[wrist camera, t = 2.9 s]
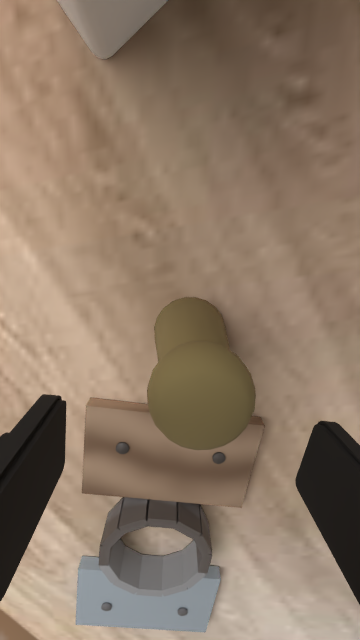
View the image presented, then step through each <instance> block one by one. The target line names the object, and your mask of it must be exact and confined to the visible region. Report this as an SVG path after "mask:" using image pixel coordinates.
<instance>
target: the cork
mask: <svg viewBox="0 0 360 640" xmlns="http://www.w3.org/2000/svg"><path fill="white" fill-rule="evenodd" d="M154 331H155V343H156V349H157V356H158V364H157V365H156V367H155V368H154V369H153V372H152V375H151V378H150V381H149V385H148V389H147V397H148V408H149V412H150V414H151V417H152V419H153V421H154V423H155V426H156V427H157V428H158V429H159V430H160V431H161V432H162V433H163V434H164V435H165V436H166V437H167V438H168V439H169V440H170V441H172V442H174V443H175V444H177V445H179V446H181V447H184V448H188V449H193V450H211V449H215V448H218V447H222V446H225V445H226V444H228V443H230V442H231V441H233V440H235V439H236V438H237V437H238V436H239V435H240V434H241V433H242V432H243V431H244V430H245V429H246V427H247V425H248V423H249V421H250V418H251V416H252V414H253V412H254V409H255V397H256V394H255V387H254V384H253V380H252V377H251V374H250V372H249V370H248V369H247V367H246V366H245V365H244V363H243V362H242V361H241V359H240V358H239V357H238V356H237V355H236V354H234V353H233V352H231V351H230V348H229V344H228V339H227V334H226V329H225V325H224V321H223V318H222V315H221V314H220V313H219V311H218V310H217V309H216V307H215V306H213V305H212V304H210V303H209V302H207V301H205V300H202V299H199V298H196V297H193V298H181V299H178V300H175V301H173V302H171V303H170V304H169V305H167V306H166V307H165V308H164V309H163V310H162V311H161V313H160V314H159V316H158V317H157V320H156V324H155V327H154Z"/></svg>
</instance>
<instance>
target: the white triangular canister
mask: <svg viewBox="0 0 360 640" xmlns="http://www.w3.org/2000/svg"><path fill="white" fill-rule="evenodd" d="M57 1H58V3H59V5H60V6H61V7H62V9H63V10H64V12H65V13H66V15H67V16H68V18H69V19H70V21H71V22H72V24H73V25H74V27H75V28H76V30H77V31H78V33H79V34H80V36H81V37H82V39H83V40H84V42H85V43H86V44H87V46H88V47H89V49H90V50H91V52H92V53H93V54H94V55H95V56H96V57H97V58H100V59H107V58H109V57H111V56H113V55H114V54H115V53H116V52H117V51H118V50H119V49H120V48H121V47H122V46H123V45H124V44H125V43H126V42H127V41H128V40H129V39H130V38H131V37H132V36H133V35H134V34H135V33H136V32H137V31H138V30H139V29H140V28H141V27H142V26H143V25H144V24H145V23H146V22H147V21H148V20H149V19H150V18H151V17H152V16H153V15H154V14H155V13H156V12H157V11H158V10H159V9H160V8H161V7H162V6H163V5H164V4H165V3H166V2H167V1H168V0H57Z"/></svg>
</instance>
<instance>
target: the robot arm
mask: <svg viewBox="0 0 360 640" xmlns="http://www.w3.org/2000/svg"><path fill="white" fill-rule="evenodd" d="M65 434H66V401H63V400H62V399H61V396H56V395H46V394H44V395H42V396H41V397H40V398H39V399H38V400H37V401H36V402H35V404H34V405H33V406H32V407H31V408H30V410H29V411H28V412H27V413H26V414H25V415H24V417H23V418H22V419H21V420H20V421H19V422H18V424H17V425H16V426H15V427H14V428H13V430H12V431H11V432H10V433H5V434H3V435H2V436H0V601H1V600H2V598H3V597H4V595H5V593H6V591H7V589H8V587H9V585H10V582H11V580H12V578H13V576H14V574H15V572H16V570H17V567H18V565H19V563H20V561H21V559H22V557H23V555H24V552H25V550H26V548H27V546H28V544H29V542H30V540H31V538H32V535H33V533H34V531H35V529H36V527H37V525H38V523H39V520H40V518H41V516H42V514H43V512H44V510H45V508H46V506H47V503H48V501H49V499H50V497H51V495H52V493H53V491H54V488H55V486H56V484H57V482H58V480H59V478H60V476H61V473H62V471H63V468H64V463H65ZM296 487H297V489H298V491H299V493H300V495H301V497H302V499H303V501H304V502H305V504H306V506H307V508H308V510H309V512H310V514H311V515H312V517H313V519H314V521H315V523H316V525H317V527H318V528H319V530H320V532H321V534H322V536H323V538H324V540H325V541H326V543H327V545H328V547H329V549H330V551H331V553H332V554H333V556H334V558H335V560H336V562H337V564H338V566H339V567H340V569H341V571H342V573H343V575H344V577H345V579H346V580H347V582H348V584H349V586H350V588H351V590H352V592H353V593H354V595H355V597H356V599H357V601H358V603H359V604H360V445H359V444H358V443H357V442H356V441H355V440H354V439H353V438H352V437H351V436H350V435H349V434H348V433H347V432H346V431H345V430H344V429H343V428H342V427H341V426H340V425H339V424H338V423H336V422H328V421H320V422H318V424H317V425H315V426H314V428H313V430H312V433H311V436H310V439H309V442H308V445H307V448H306V450H305V453H304V456H303V459H302V462H301V465H300V468H299V470H298V473H297V476H296Z"/></svg>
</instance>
